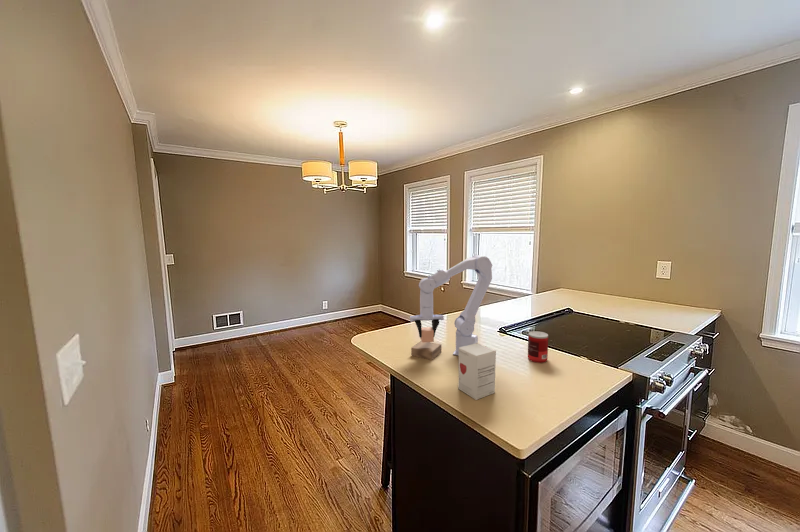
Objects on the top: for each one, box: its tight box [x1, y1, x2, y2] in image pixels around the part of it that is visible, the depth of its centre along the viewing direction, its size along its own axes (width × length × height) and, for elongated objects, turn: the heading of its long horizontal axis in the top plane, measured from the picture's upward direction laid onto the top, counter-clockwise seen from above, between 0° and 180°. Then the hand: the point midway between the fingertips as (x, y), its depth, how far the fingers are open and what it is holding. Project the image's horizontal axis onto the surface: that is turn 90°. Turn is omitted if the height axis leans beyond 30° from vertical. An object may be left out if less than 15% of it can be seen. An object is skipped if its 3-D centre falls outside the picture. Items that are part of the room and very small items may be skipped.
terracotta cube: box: [419, 326, 435, 343], centre depth 141 cm, size 5×5×5 cm
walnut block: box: [410, 340, 442, 361], centre depth 144 cm, size 10×10×4 cm
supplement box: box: [457, 342, 497, 401], centre depth 110 cm, size 9×9×15 cm
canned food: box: [527, 330, 549, 364], centre depth 136 cm, size 8×8×11 cm
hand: (426, 336), depth 142 cm, fingers closed on terracotta cube, 5 cm apart
